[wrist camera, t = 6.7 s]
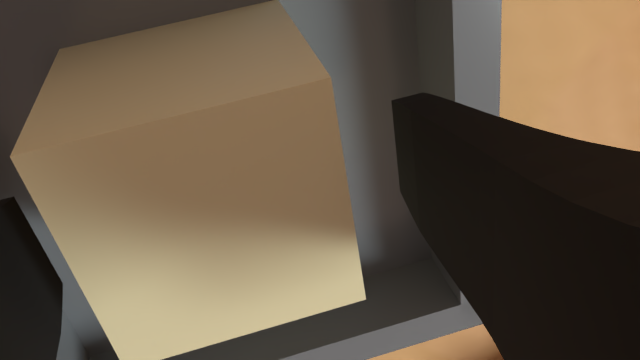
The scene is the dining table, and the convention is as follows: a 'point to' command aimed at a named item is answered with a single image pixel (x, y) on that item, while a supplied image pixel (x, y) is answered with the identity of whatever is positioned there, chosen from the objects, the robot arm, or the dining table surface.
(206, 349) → the slate tray
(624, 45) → the dining table surface
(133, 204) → the cheese cube
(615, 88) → the dining table surface
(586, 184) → the robot arm
